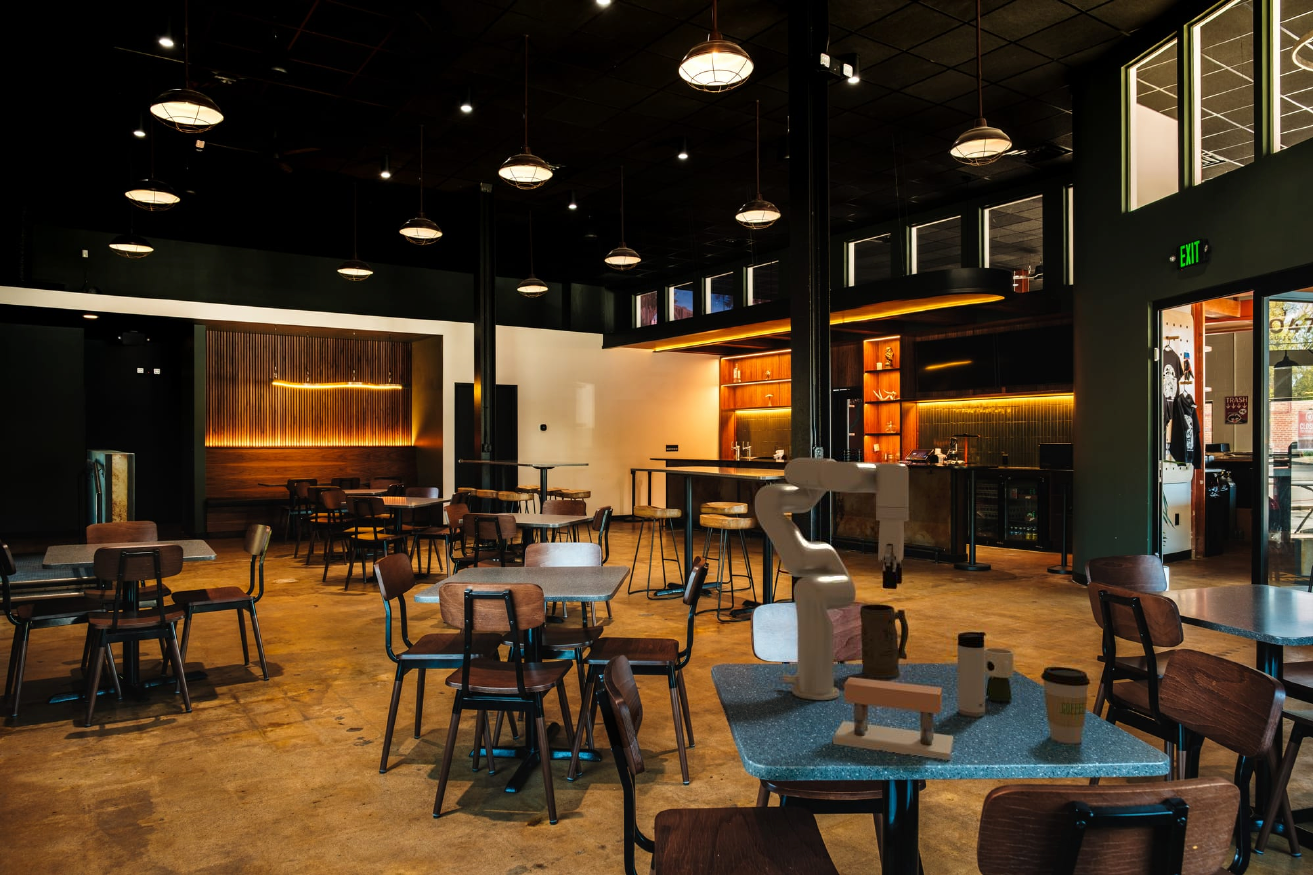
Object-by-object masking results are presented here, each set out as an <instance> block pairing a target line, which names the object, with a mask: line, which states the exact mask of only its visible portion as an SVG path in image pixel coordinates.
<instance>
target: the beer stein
mask: <svg viewBox="0 0 1313 875" xmlns="http://www.w3.org/2000/svg"><path fill="white" fill-rule="evenodd" d="M859 616H860V622H861V628H860V637H861V638H860V639H861V664H862V669H861V673H862V674H863V676H865V675H866V677H868V678H872V677H873V678H874V679H892V678H896V677H898V676H899V675H900V672H901V671H900V668H899V663H900V662H899V661H900V660H901V659H902V660H907V658H908V655H907V653H906V650H905V649H906V646H907V642H908V640H909V625H908V621H907V619H906V612H905V609H898V610H897V611H895V608H894V607H893V606H891V605H887V604H865V605H862V606H861V607H860V612H859ZM896 620H899V623H900V629H901V630H900V640H899V641H898V639H899V638H898V630H897V627H896V626H897V625H896ZM898 642H899V643H898Z"/></svg>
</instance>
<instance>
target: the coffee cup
mask: <svg viewBox="0 0 1313 875" xmlns="http://www.w3.org/2000/svg"><path fill="white" fill-rule="evenodd" d="M1087 674H1088V673H1087V672H1085V671H1083V670H1081V669H1077V668H1072V667H1067V666H1066V667H1065V666H1047V667H1045V668H1044V669H1043V672H1042V673H1041V675H1040V678H1041V679H1042V680H1043V688H1044V689H1043V694H1044V701H1045V702H1044V703H1045V708H1046V715H1047V721H1048V726H1049V734H1050V738H1051V739H1052V740H1054V741H1056V742H1060V743H1065V744H1080V743H1081V742H1082V740H1083V731H1084V726H1085V721H1086V719H1085V718H1086V712H1087V711H1086V709H1087V702H1088V687H1089V685H1090V684H1091V682H1090V681H1091V680H1090V679H1089V678H1088V675H1087Z"/></svg>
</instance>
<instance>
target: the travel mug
mask: <svg viewBox="0 0 1313 875" xmlns="http://www.w3.org/2000/svg"><path fill="white" fill-rule="evenodd" d="M986 636H987V633H986V632H984V631H967V632H961V633H958V634H957V712H958V713H959V714H960V715H962V716H965V715H966V716H965V717H972V718H980V717H981V716H982V717H983V716H985V714H986V708H985V707H986V681H985V680H986V674H985V650H984V649H986V647H985V637H986Z"/></svg>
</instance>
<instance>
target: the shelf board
mask: <svg viewBox="0 0 1313 875" xmlns="http://www.w3.org/2000/svg"><path fill="white" fill-rule="evenodd" d="M844 702H845V703H851V704H854V703H858V704H865V705H868V706H874V707H884V708H892V709H899V710H908V711H915V712H920V711H921V712H929V713H934V714H937V715H938V714H939V715H940V714H941V713H942V712H941V711H942V707H943V687H940V686H939V687H938V686H929V685H920V684H912V683H904V682H903V683H902V682H895V681H893V682H892V681H885V680H878V679H868V678H867V679H866V678H858V677H850V676H849V677H848V679H847V680H846V681H845V683H844Z"/></svg>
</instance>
